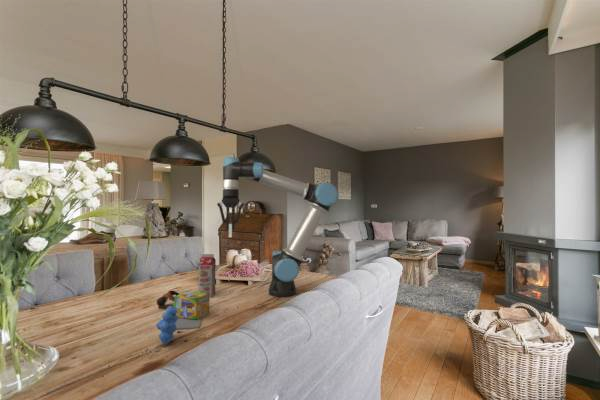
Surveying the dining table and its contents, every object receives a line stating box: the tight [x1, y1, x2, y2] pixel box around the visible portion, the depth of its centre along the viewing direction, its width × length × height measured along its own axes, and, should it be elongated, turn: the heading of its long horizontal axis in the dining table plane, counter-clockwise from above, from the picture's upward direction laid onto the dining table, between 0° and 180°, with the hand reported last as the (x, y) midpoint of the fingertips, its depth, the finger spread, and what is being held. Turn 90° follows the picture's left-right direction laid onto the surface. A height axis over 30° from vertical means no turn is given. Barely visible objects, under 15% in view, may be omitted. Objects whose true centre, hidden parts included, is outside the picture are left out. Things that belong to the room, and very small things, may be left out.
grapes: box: [155, 305, 178, 346], centre depth 102 cm, size 12×7×12 cm, turn 3°
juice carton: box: [197, 253, 216, 299], centre depth 154 cm, size 7×7×22 cm
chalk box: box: [172, 290, 211, 320], centre depth 125 cm, size 9×9×15 cm
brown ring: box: [156, 290, 180, 310], centre depth 136 cm, size 12×10×8 cm
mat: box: [159, 317, 203, 332], centre depth 120 cm, size 14×17×1 cm
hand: (230, 237), depth 142 cm, fingers closed
